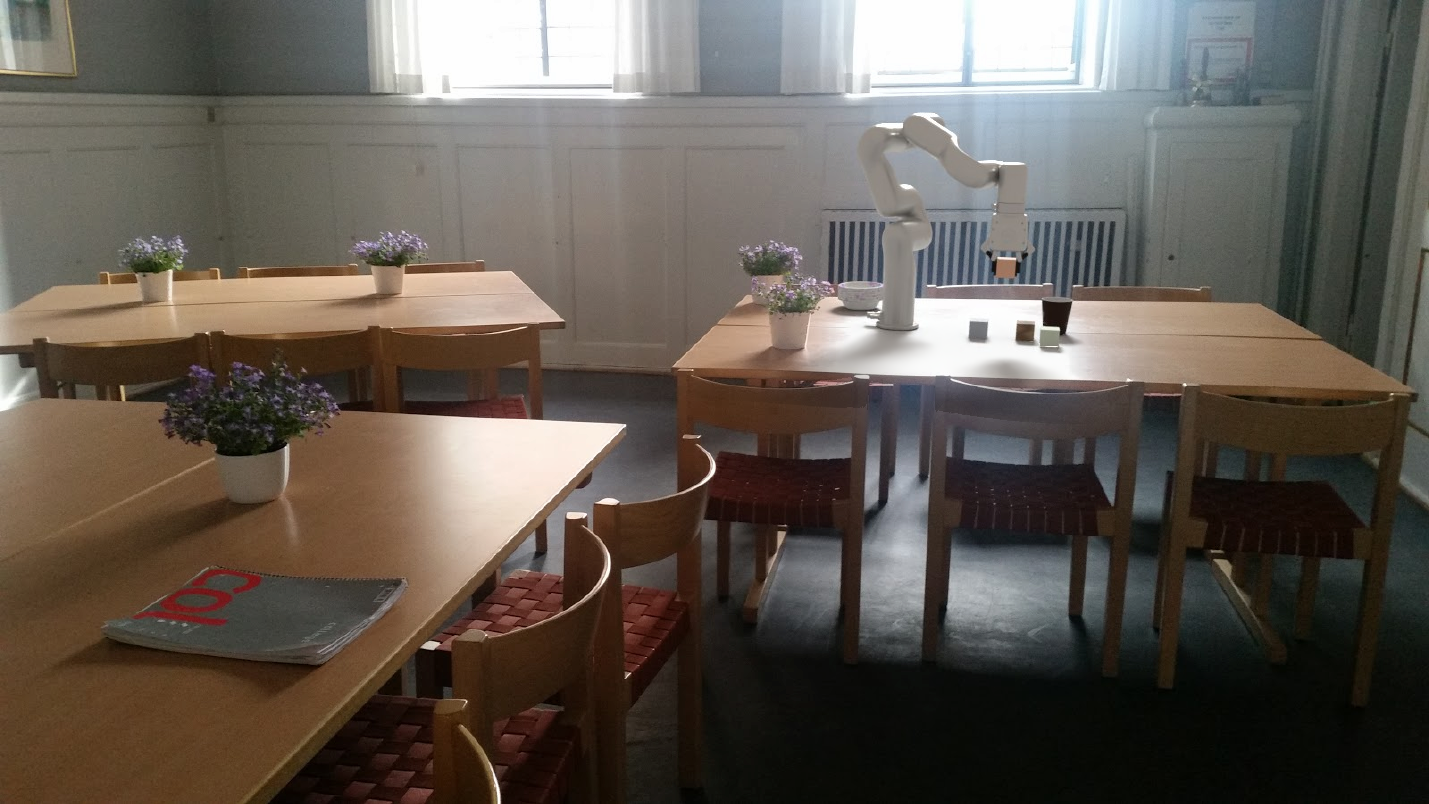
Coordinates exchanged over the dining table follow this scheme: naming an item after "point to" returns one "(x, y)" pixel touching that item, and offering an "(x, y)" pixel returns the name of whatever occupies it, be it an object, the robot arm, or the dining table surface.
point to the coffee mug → (1056, 312)
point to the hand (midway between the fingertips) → (1005, 274)
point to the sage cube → (1049, 336)
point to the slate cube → (978, 328)
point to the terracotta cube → (1005, 267)
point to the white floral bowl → (860, 295)
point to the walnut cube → (1025, 330)
